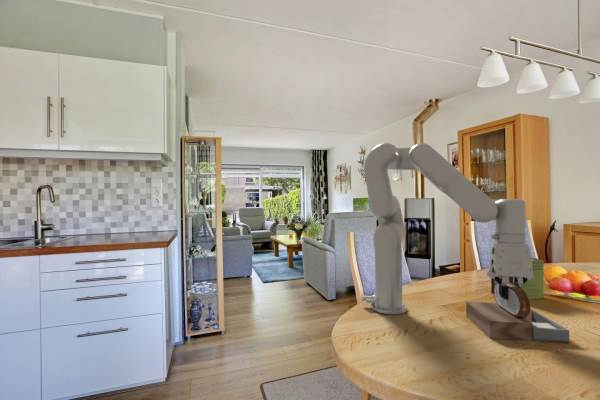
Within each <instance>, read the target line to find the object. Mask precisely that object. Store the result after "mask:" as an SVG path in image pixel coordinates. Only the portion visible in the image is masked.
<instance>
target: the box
mask: <svg viewBox="0 0 600 400" xmlns="http://www.w3.org/2000/svg"><path fill="white" fill-rule="evenodd" d="M530 309H531V314H532V322H535V323H548V324H550V325H552V326H553V327H555V328H557V329H554V328H535V327H533V326H532V342H542V343H543V342H544V343H559V344H560V343H563V344H567V343H568V344H569V343H570V330H569V329H568V328H566V327H564V326H562V325H560V324H558V323H557V322H555V321H554V320H552V319H550V318H548V317H546V316H545V315H543V314H541V313H539V312H538V311H536V310H534V309H532V308H530Z"/></svg>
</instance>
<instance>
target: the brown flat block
mask: <svg viewBox="0 0 600 400" xmlns="http://www.w3.org/2000/svg"><path fill="white" fill-rule="evenodd" d="M465 306H466V307H465V309H466V310H465V316H466V318H468V320H469V321H470V322H472V323H473V324H474V325H475V326H476V327H477V328H478V329H479V330H480V331H481V332H483V334H484V335H485V336H487V338H489V339H490V340H491V339H494V340H506V341H507V340H510V341H526V342H527V341H528V342H533V340H532V323H531V322H530V321H528V320H527V319H525V318H523V317H515V316H513V315H511V314H510V313H508V312H507V311H506V310H504V309H503V308H501V307H500V306H499V305H498V304H497V302H480V301H466V302H465Z"/></svg>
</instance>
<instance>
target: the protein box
mask: <svg viewBox="0 0 600 400" xmlns="http://www.w3.org/2000/svg"><path fill="white" fill-rule="evenodd" d="M531 258H532V274H533V276H534V278H533V279H530V280H527V282H525V283H524V284H523V287H521V289H523V290H524V291H525V292H526V294H527V296H528V298H529V300H535V299H536V300H537V299H544V298H545V297H544V296H545V295H544V294H545V293H544V274H545V273H544V271H545V270H544V263H545V262H544V259H540V258H535V257H531ZM494 275H495V276H498V275H497V274H496V273H494ZM490 279H491V281H490V283H491V284H490V286H491V287H490V288H491V294H493V295H494V285H495V283H496V281H495V280H494V279H493V278H491V277H490ZM506 281H507V282H509V283H511V284H514V281H513V277H507V279H506Z"/></svg>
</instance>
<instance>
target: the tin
mask: <svg viewBox="0 0 600 400" xmlns="http://www.w3.org/2000/svg"><path fill="white" fill-rule="evenodd" d="M506 286H507V287H508V299H504V298H502V297H500V295H499V284H498V283H497V282H496V283H495V285H494V294H493V296H494V300H495V303H497V304H498V305H499V306H500V307H501V308H503V309H504V310H506V311H507V312H508V313H510V314H511V315H513V316H515V317H524V318H525V317H527V316H528V315H529V313H530V309H531V302H530V299H529V298H528V296H527V294H526V292H525V291H524V290H523V289H521V288H519V287H517V286H515V285H513V284H511V283H509V282H507V281H506Z"/></svg>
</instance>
